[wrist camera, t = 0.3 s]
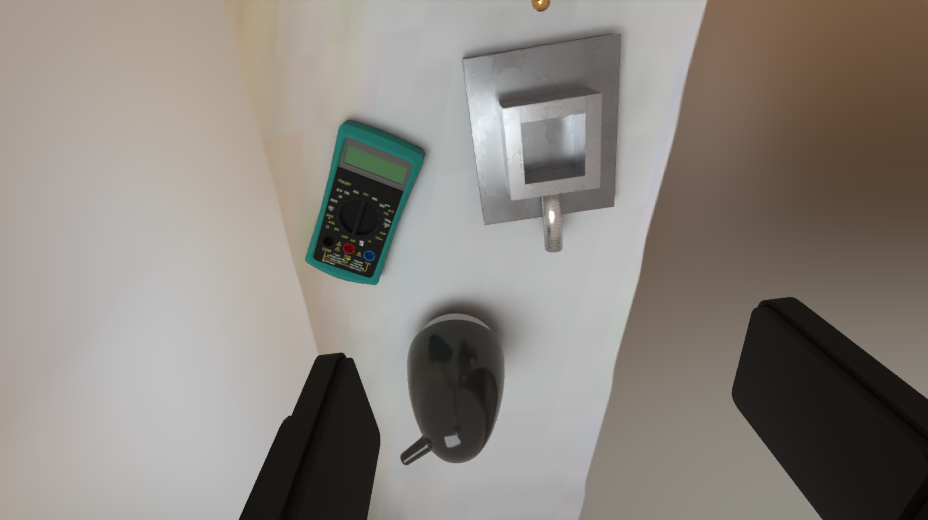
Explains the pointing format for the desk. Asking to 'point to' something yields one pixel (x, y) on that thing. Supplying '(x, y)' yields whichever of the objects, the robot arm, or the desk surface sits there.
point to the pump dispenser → (454, 387)
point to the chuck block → (545, 130)
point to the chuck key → (540, 4)
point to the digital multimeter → (362, 202)
